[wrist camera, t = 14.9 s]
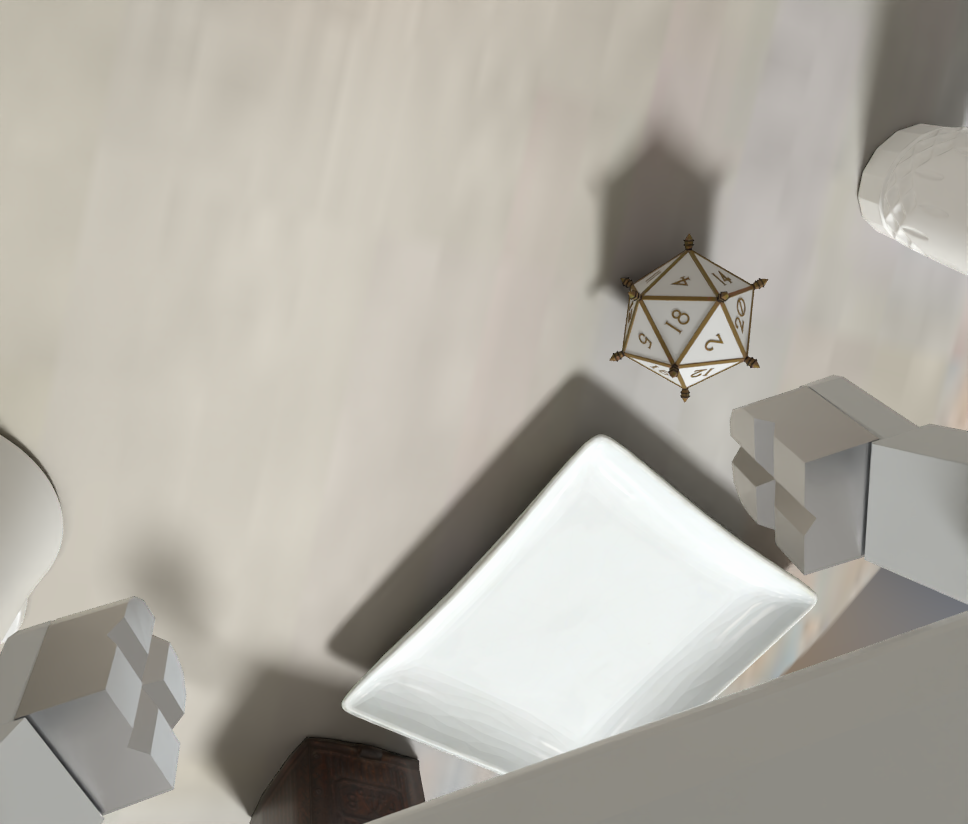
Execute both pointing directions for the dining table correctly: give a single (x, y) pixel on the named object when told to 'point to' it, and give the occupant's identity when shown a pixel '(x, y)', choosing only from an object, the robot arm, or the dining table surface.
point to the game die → (689, 320)
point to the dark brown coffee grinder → (339, 785)
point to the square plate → (583, 622)
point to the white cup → (921, 192)
